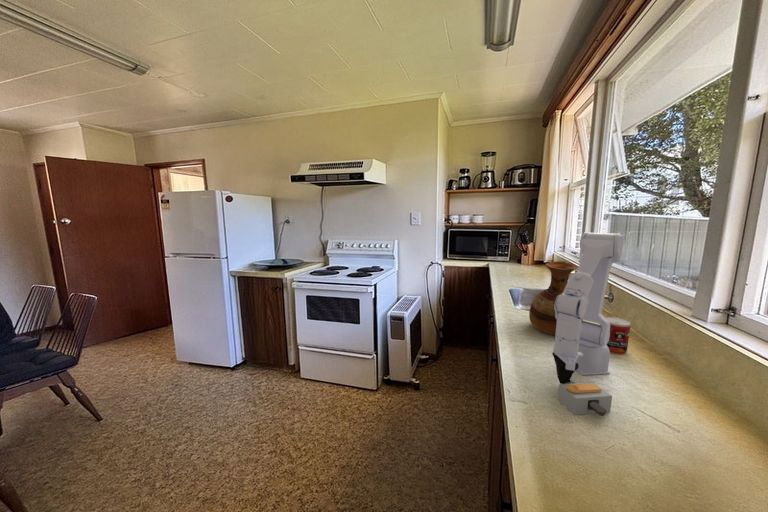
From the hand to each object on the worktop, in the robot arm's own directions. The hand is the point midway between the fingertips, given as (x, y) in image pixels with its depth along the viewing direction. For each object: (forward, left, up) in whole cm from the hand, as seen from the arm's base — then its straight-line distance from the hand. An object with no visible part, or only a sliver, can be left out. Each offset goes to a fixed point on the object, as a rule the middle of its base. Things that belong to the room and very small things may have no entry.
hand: (562, 381), depth 84 cm
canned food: (-36, -20, -2) cm, 41 cm away
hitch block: (0, +8, -2) cm, 8 cm away
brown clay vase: (-26, -39, -2) cm, 47 cm away
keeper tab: (+1, +8, +3) cm, 8 cm away
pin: (0, +8, -1) cm, 8 cm away
